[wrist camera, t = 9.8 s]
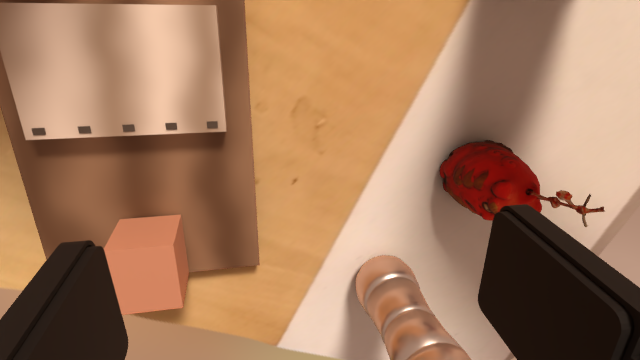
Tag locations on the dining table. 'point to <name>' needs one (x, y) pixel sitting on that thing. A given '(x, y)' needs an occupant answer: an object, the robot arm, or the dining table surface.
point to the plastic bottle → (403, 312)
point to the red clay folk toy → (496, 181)
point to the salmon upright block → (148, 263)
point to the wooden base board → (133, 120)
